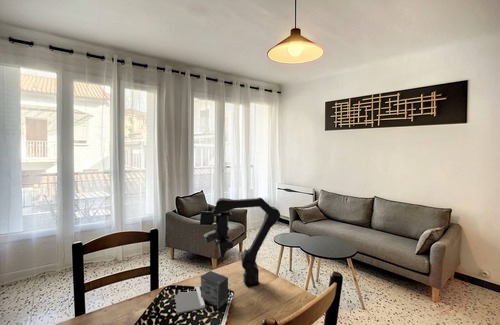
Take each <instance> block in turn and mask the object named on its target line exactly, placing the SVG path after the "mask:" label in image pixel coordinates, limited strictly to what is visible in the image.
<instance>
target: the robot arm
mask: <svg viewBox="0 0 500 325" xmlns="http://www.w3.org/2000/svg"><path fill="white" fill-rule="evenodd" d="M258 207H259V208H261V210H263V212H264V213H265V215H264V217H263V223H262V224H261V226H260V228H259V230H258V231H257V234H256V235H255V238H254V239H253V241H252V243H251V245H250V246H249V248H248V249H246V248H245V249H244V250H243V253H242V254H241V255H240V261H241V267H242V268H243V270H244V273H243V281H242V282H243V283H244V285H245V286H246V287H247V288H250V287H256V286H260V285H261V283H260V281H259V280H260V279H259V278H260V277H259V275H260V274H259V273H260V272H259V271H260V270H259V267H258V264H257V262H256V260H257V256H258V252H259V250H260V249H261V247H262V245H263V243H264V241H265V240H266V238H267V235H268V234H269V232H270V230H271V228H272V227H273V226H274V225H275V224H276V223H277V222H278V221H279V219H280V217H281V212H280V211H279V210H278V209H277V208H276V207H275V206H271V205H270V204H269V203H268V202H266V201H265V199H263V197H257V198H242V199H241V198H240V199H231V198H224V197H221V198H218V199H217V201H216V203H215V206H214V208H213V209H212V210H210V211H209V210H206V211H205V210H201V211H200V217H199V225H200V226H201V227H203V226H213V225H214V224H215V226H214V229H213V230H210V231H208V232H206V233H204V234H203V237H204V239H205V241H206V242H205V243H207V244H210V243H211V242H213V241H214V244H215V245H216V247H218V251H219V256H220V258H221V259H223V258H224V257H225V254H226V253H227V251H228V249H234V243H233V242H232V241H231V240H230V236H229V230H230V227H229V217H232V216H233V213H232V212H230V211H232V210H236V209H246V208H258Z"/></svg>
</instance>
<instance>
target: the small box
mask: <svg viewBox="0 0 500 325" xmlns="http://www.w3.org/2000/svg"><path fill="white" fill-rule="evenodd" d="M200 291H201V297H202V298H203V300H204V303H207V304H209V305H211V306H213V307H216V308H217V309H219V308H221V307H222V306H224V305H225V304H226V303H227V302H228V301H229V277H227V276H224V275H222V274H220V273H217V272H214V271H211V270H209V271H207V272H206V273H204V274H202V275H201V276H200Z"/></svg>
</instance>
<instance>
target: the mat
mask: <svg viewBox="0 0 500 325" xmlns="http://www.w3.org/2000/svg"><path fill="white" fill-rule="evenodd" d="M195 289H196V291H191V290H192V289H189V290H190V291H189V292H188V293H187V292H181V291H177V292H178V294H179V295H175V296H174V303H176V304H175V311H176V315H178V314H184V313H188V312H193V311H199V310H203V309H206V304H205V303H206V302H205V301H204V300H203V298H202V297H201V287H200V286H195Z"/></svg>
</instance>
